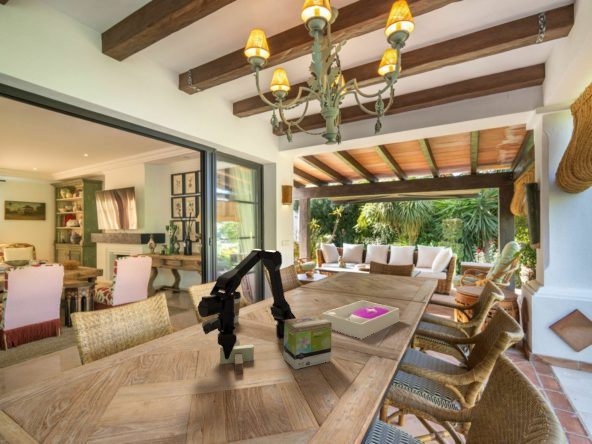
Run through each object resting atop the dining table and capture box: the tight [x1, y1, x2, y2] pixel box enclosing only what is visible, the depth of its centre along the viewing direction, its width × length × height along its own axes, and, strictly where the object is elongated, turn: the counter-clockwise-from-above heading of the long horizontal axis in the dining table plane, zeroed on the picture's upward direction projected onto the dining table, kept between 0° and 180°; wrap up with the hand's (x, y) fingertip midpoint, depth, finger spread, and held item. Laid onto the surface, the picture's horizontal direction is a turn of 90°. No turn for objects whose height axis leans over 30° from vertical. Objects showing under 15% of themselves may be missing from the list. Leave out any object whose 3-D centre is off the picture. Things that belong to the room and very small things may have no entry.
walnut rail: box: [233, 339, 244, 375], centre depth 109 cm, size 2×20×4 cm, turn 14°
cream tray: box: [321, 299, 400, 340], centre depth 149 cm, size 22×35×7 cm, turn 134°
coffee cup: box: [235, 291, 242, 324], centre depth 152 cm, size 8×8×15 cm
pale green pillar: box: [219, 344, 255, 365], centre depth 109 cm, size 12×2×5 cm, turn 105°
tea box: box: [283, 314, 333, 371], centre depth 109 cm, size 15×10×15 cm, turn 117°
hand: (226, 353), depth 108 cm, fingers open, 9 cm apart
